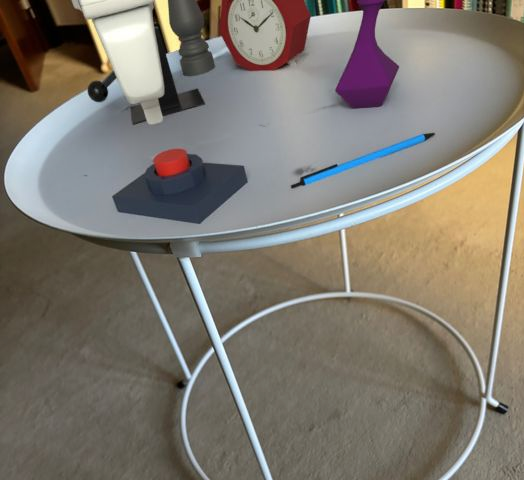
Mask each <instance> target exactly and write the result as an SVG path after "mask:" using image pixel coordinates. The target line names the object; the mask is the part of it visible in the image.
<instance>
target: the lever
mask: <svg viewBox="0 0 524 480" xmlns="http://www.w3.org/2000/svg"><path fill="white" fill-rule="evenodd" d="M116 80H117V78H116V75H115V73H114V71H113V70H112V71H110V72H109V74H107V76H105V77H104V79H103V80H97V79H96V80H92V81H91V82H90V83H89V84H88V85H87V89H86V92H87V96H88V97H89V99H90V100H91V101H93V102H94V103H103V102H104V101H106V100H107V99H108V97H109V87H110V86H111V85H112V84H113V82H115V81H116Z"/></svg>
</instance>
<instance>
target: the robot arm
mask: <svg viewBox="0 0 524 480" xmlns="http://www.w3.org/2000/svg"><path fill="white" fill-rule="evenodd" d="M71 3H72V5H73V8H74V9H76V10H78V11H80V12H82V15H83V16H84V18H85V19H86V20H88V21H89V20H91V22H92V24H93V26H94V29H95V31H96V34H97V36H98V38H99V40H100V43H101V46H102V48H103V50H104V52H105V54H106V57H107V59H108V61H109V64H110V66H111V68H112V71H114V73H115V75H116V80H117V82H118V85H119V86H120V88H121V91H122V93H123V94H124V97H125V98H126V100H127V101H128V103H129V104H131V105H140V104H141V106H142V108H143V111H144V114H145V117H146V120H147V121H146V123H147V124H148V125H150V126H153V125H156V124H160V123H162V122H163V121H164V116H162V112H161V109H160V105H159V101H158V98H160V97H162V96H163V95H164V81H163V74H162V68H161V62H160V57H159V51H158V45H157V40H156V34H155V29H154V23H153V22H154V17H153V16H154V15H153V10H154V8H155V5H154V3H155V0H71Z"/></svg>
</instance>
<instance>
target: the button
mask: <svg viewBox="0 0 524 480" xmlns="http://www.w3.org/2000/svg"><path fill="white" fill-rule="evenodd" d="M187 154H188V153H187V150H185V149H184V148H171V149H167V150H164V151H162V152H160V153H158V154H157V155H155V156H154V157H153V159H152V163H153V164H154V165H155V168H156V171H157V174H158V176H169V175H174V174H177V173H180V172H182V171H185V170H186V169H187V168H189V167H190V163H189V159H188V156H187Z"/></svg>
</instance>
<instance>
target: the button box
mask: <svg viewBox="0 0 524 480" xmlns="http://www.w3.org/2000/svg"><path fill="white" fill-rule="evenodd" d="M187 156H188V159H189V163H190V167H189V168H187V169H186V170H185V171H182V172H180V173H177V174H174V175H169V176H158V174H157V171H156V168H155V165H154V163H153V164H151V165H150V166H149V167H147V168H146V169H145V172H144V173H142V174H141V175H139V176H138V177H136V178H135V179H134V180H132V181H131V182H130V183H128V184H127V185H126V186H124V187H123V188H121V189H120V190H118V191H117V192H116V193H115V194H114V193H113V195H112V196H111V198H112V200H113V203H114V206H115V208H116V210H117V212H118V213H122V214H129V215H136V216H140V217H141V216H142V217H148V218H155V219H162V220H167V221H168V220H170V221H175V222H181V223H182V222H183V223H189V224H196V225H200V224H201V223H203V222H204V221H205V220H207V218H209V216H211V215H212V214H213V213H214V212H216V211H217V210H218V208H220V207H221V206H223V204H225V203H226V202H227V201H228V200H229V199H231V197H233V196H234V195H235V194H236V193H238V191H240V190H241V189H242V188H243V187H244V186H245V185H246V184H248V183H249V182H248V177H247V173H246V172H247V171H246V169H245V165H243V164H242V165H241V164H230V163H229V164H228V163H216V162H214V163H213V162H204V161H203V158H202V157H201V156H199V155H198V154H195V153H194V154H193V153H187Z"/></svg>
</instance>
